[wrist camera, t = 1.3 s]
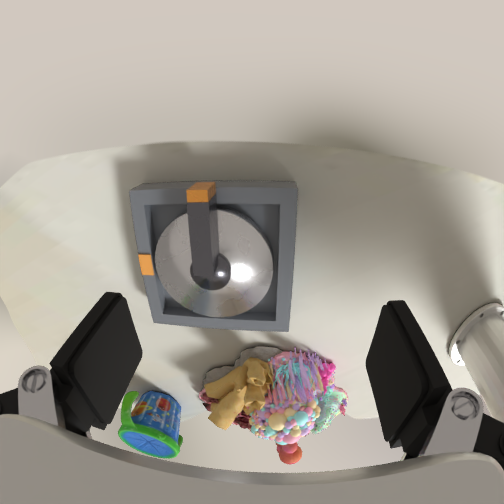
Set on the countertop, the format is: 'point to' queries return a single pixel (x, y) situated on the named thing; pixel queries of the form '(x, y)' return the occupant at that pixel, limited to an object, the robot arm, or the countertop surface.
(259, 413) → the pastel sphere sculpture
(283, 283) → the housing
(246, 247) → the dial
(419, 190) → the countertop surface
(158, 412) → the snack cup
